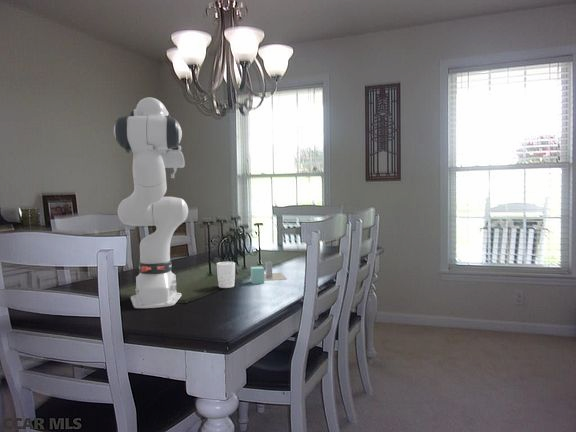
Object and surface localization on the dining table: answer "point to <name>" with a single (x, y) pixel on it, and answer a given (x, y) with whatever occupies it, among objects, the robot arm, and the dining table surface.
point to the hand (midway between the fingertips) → (161, 178)
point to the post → (270, 275)
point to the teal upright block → (257, 275)
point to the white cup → (226, 274)
